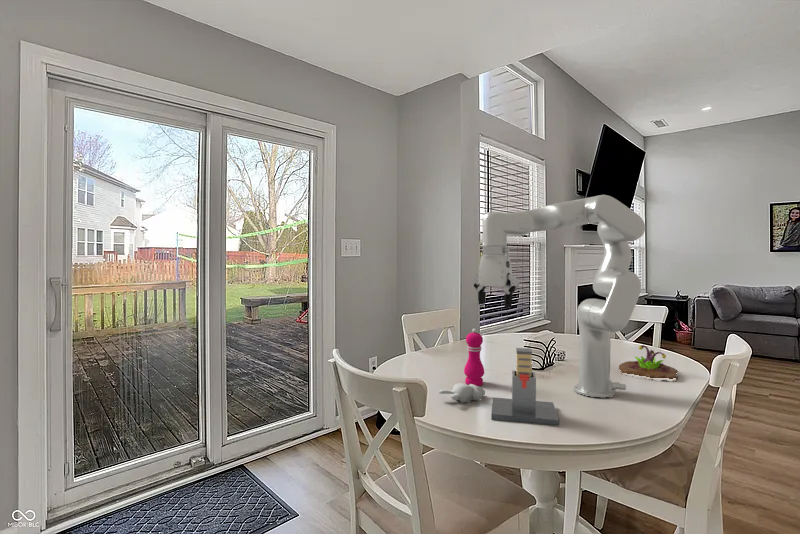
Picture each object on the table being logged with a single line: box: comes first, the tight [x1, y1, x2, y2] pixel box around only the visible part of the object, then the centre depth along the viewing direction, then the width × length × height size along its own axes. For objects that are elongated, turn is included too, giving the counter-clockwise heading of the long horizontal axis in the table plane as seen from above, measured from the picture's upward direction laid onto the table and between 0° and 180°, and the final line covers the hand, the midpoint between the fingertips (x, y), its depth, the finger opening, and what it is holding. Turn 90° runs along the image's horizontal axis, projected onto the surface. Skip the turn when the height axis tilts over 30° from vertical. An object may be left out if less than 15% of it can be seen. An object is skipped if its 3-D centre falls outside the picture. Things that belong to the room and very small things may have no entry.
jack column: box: [515, 347, 533, 377], centre depth 123 cm, size 4×4×17 cm
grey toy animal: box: [438, 382, 486, 404], centre depth 135 cm, size 10×5×15 cm
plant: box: [618, 344, 679, 379], centre depth 165 cm, size 20×20×11 cm
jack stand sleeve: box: [490, 370, 560, 427], centre depth 124 cm, size 18×14×12 cm
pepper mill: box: [463, 328, 485, 387], centre depth 151 cm, size 7×7×20 cm
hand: (494, 305), depth 135 cm, fingers open, 9 cm apart
